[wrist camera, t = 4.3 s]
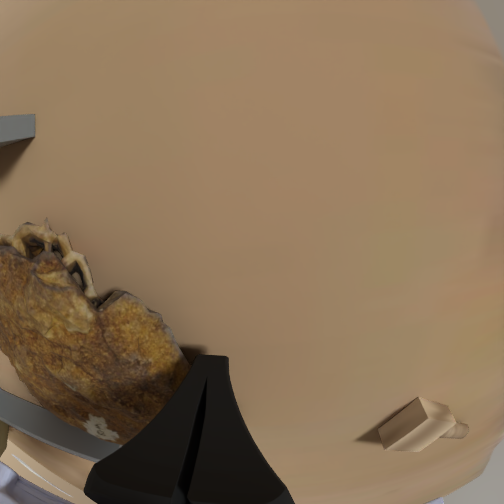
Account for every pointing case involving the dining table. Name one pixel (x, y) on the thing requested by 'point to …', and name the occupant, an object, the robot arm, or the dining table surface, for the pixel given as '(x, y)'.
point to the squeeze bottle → (3, 436)
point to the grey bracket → (23, 412)
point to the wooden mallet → (420, 426)
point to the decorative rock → (82, 339)
